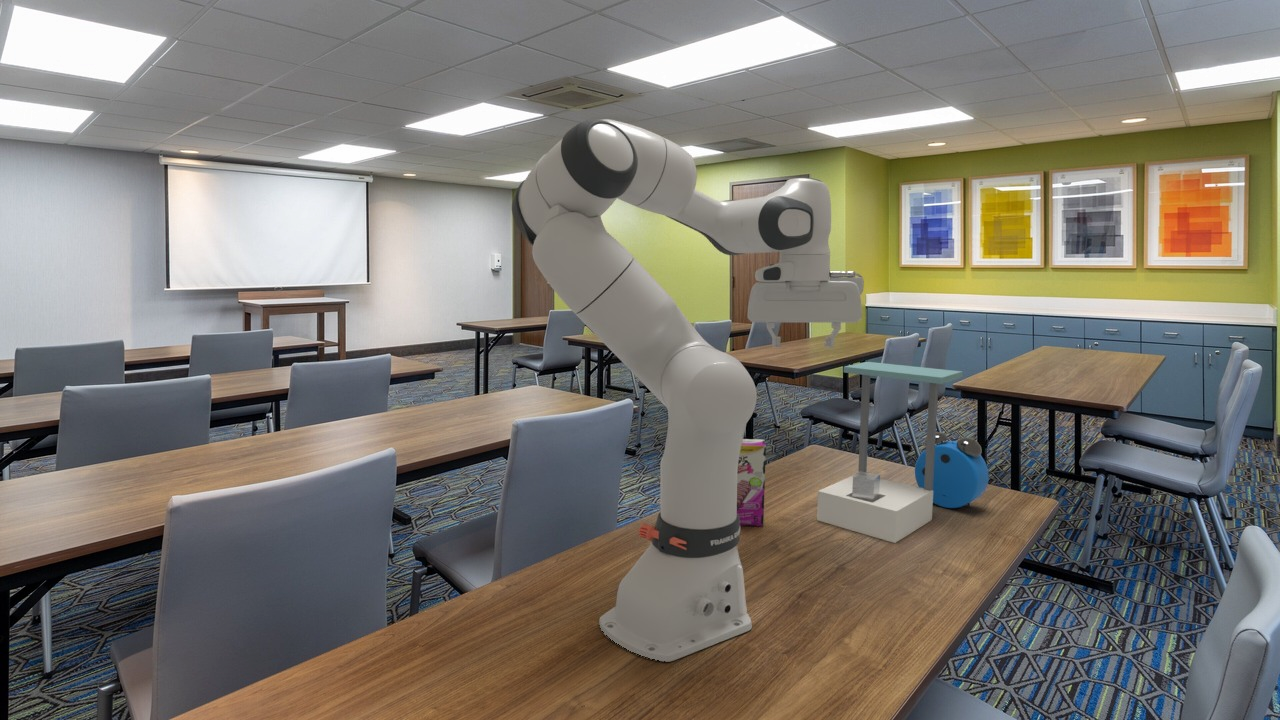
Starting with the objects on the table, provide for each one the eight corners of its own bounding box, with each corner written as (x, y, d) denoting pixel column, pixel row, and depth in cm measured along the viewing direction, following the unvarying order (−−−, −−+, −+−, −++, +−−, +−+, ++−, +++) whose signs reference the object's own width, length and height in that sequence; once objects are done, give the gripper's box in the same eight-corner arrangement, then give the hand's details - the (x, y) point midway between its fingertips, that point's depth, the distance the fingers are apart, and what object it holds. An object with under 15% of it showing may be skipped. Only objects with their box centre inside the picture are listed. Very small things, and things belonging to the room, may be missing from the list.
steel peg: (872, 526, 129) (874, 480, 128) (851, 521, 132) (852, 476, 130) (878, 519, 133) (880, 474, 131) (857, 515, 135) (859, 471, 134)
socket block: (905, 546, 122) (913, 385, 118) (808, 517, 137) (812, 373, 133) (954, 514, 138) (962, 371, 134) (861, 491, 152) (867, 361, 148)
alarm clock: (987, 509, 140) (992, 438, 138) (974, 517, 136) (979, 443, 134) (925, 493, 150) (929, 427, 148) (911, 500, 146) (915, 432, 144)
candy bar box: (706, 525, 133) (707, 443, 130) (706, 516, 138) (707, 437, 135) (764, 527, 132) (766, 444, 129) (762, 518, 137) (764, 438, 134)
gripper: (861, 270, 125) (858, 345, 127) (748, 271, 128) (747, 344, 130) (867, 270, 119) (864, 349, 121) (748, 271, 122) (747, 348, 124)
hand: (802, 347), depth 125 cm, fingers open, 8 cm apart
